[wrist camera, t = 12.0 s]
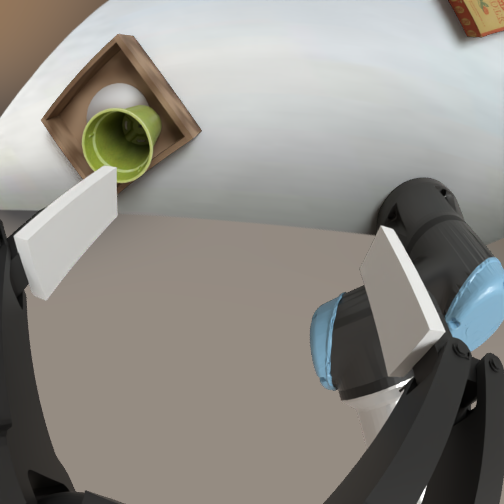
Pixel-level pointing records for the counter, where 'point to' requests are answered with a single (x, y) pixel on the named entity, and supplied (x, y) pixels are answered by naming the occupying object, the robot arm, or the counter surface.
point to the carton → (479, 16)
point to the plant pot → (122, 140)
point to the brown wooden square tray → (118, 102)
